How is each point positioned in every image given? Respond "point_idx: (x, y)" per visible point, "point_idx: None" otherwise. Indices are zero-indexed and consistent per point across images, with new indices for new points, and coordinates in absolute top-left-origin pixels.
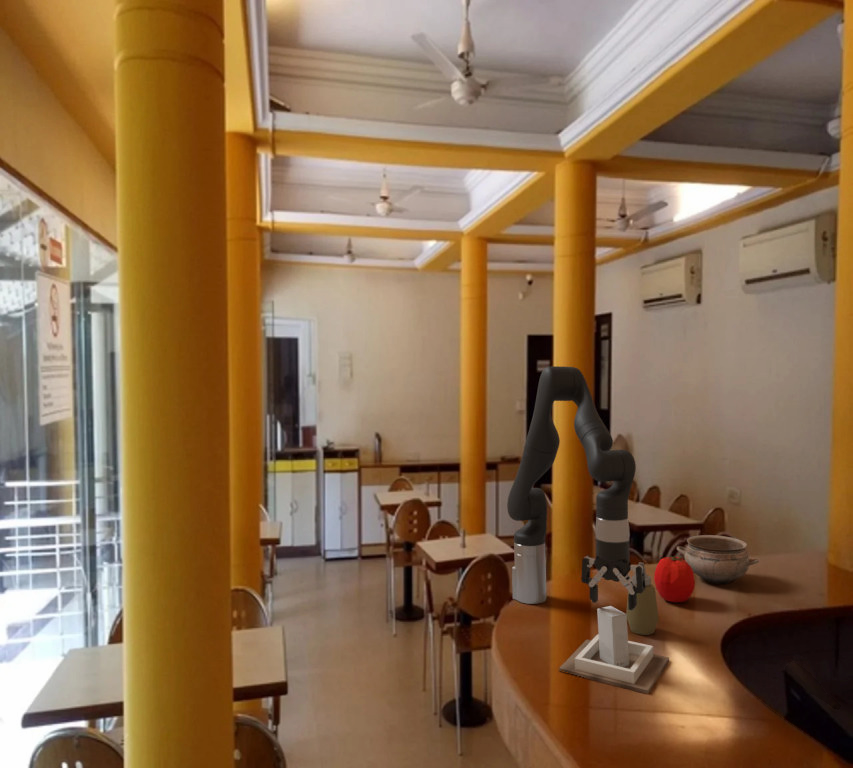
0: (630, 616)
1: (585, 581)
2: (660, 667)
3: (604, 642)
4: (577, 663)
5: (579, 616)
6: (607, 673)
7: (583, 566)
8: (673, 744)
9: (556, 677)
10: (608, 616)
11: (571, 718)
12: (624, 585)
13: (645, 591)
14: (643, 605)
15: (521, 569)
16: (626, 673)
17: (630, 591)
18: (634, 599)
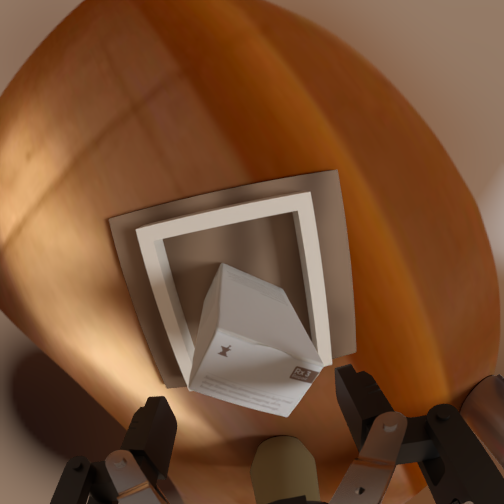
0: (298, 457)
1: (431, 418)
2: (149, 339)
3: (265, 297)
4: (299, 192)
5: None
6: (211, 209)
7: (491, 479)
8: (25, 98)
9: (322, 138)
10: (243, 335)
11: (190, 20)
12: (142, 486)
13: None
14: (271, 486)
15: None
16: (156, 223)
17: (124, 462)
18: (126, 436)
